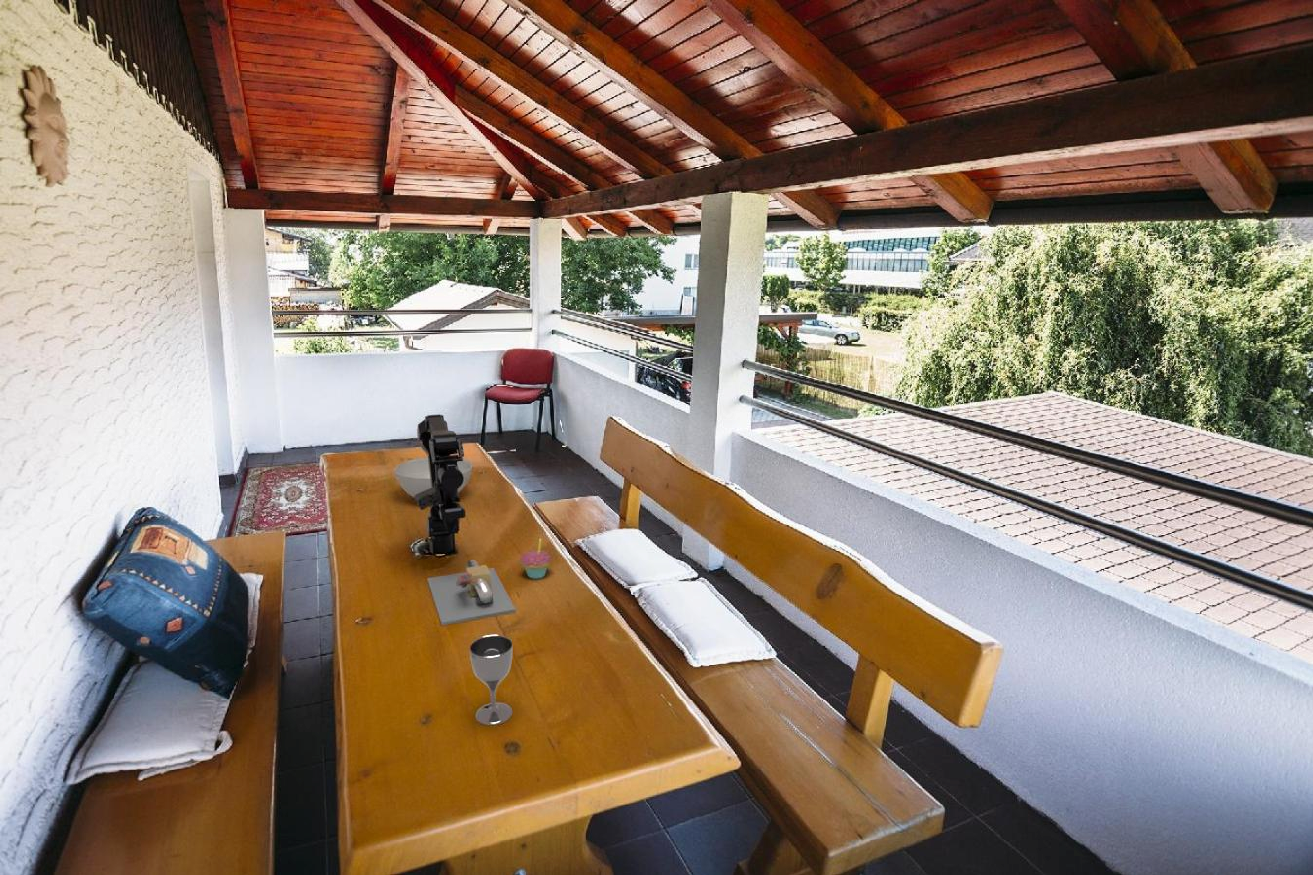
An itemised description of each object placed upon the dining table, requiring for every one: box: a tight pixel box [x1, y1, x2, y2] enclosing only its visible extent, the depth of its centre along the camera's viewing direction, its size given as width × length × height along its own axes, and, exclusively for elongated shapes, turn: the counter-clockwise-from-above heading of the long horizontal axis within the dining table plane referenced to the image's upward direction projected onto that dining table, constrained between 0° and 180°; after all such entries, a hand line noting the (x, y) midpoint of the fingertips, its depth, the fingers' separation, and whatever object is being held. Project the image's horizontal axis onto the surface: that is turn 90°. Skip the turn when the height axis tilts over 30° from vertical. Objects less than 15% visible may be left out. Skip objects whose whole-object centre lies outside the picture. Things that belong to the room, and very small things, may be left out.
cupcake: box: [519, 537, 552, 580], centre depth 201 cm, size 9×8×12 cm
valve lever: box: [456, 574, 473, 588], centre depth 183 cm, size 2×3×12 cm
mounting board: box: [427, 567, 517, 626], centre depth 189 cm, size 26×18×1 cm
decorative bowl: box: [393, 456, 474, 499], centre depth 259 cm, size 27×27×12 cm
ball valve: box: [465, 559, 493, 606], centre depth 189 cm, size 20×6×6 cm, turn 25°
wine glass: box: [469, 634, 513, 726], centre depth 140 cm, size 8×8×15 cm
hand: (449, 532), depth 200 cm, fingers closed
